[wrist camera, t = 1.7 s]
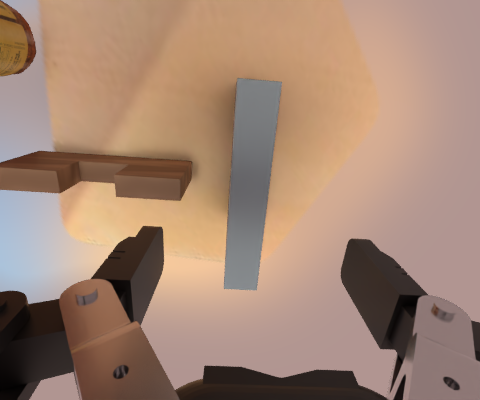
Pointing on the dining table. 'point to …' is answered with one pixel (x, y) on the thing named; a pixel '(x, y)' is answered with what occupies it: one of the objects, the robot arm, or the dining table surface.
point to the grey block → (250, 179)
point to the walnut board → (97, 174)
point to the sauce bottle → (14, 42)
